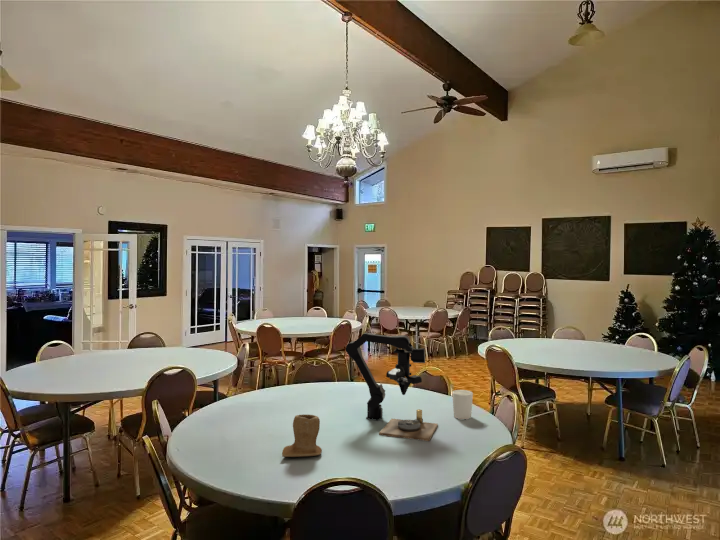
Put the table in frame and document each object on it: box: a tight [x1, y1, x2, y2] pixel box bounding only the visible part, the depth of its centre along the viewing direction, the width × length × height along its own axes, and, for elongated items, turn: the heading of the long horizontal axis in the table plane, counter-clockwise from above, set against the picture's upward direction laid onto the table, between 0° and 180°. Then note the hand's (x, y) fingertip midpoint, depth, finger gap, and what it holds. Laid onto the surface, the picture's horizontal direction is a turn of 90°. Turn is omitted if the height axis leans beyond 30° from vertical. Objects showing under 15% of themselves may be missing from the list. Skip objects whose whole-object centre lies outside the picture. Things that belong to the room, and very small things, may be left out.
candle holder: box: [451, 389, 474, 420], centre depth 225 cm, size 10×10×12 cm
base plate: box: [378, 418, 439, 442], centre depth 207 cm, size 22×20×1 cm
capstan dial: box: [398, 409, 424, 432], centre depth 208 cm, size 14×10×6 cm
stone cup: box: [281, 414, 323, 458], centre depth 180 cm, size 15×12×15 cm
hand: (403, 394), depth 221 cm, fingers closed
